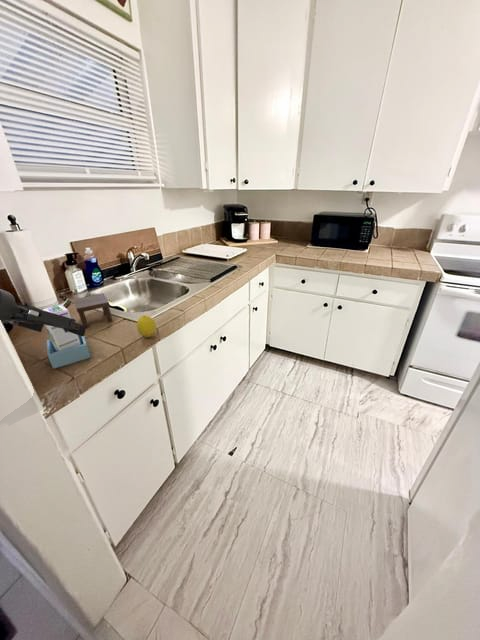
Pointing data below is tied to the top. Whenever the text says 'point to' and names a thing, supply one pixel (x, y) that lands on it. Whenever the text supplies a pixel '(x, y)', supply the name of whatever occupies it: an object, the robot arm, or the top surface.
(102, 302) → the stool
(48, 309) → the syrup box
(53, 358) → the bin
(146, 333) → the lemon
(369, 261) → the top surface
